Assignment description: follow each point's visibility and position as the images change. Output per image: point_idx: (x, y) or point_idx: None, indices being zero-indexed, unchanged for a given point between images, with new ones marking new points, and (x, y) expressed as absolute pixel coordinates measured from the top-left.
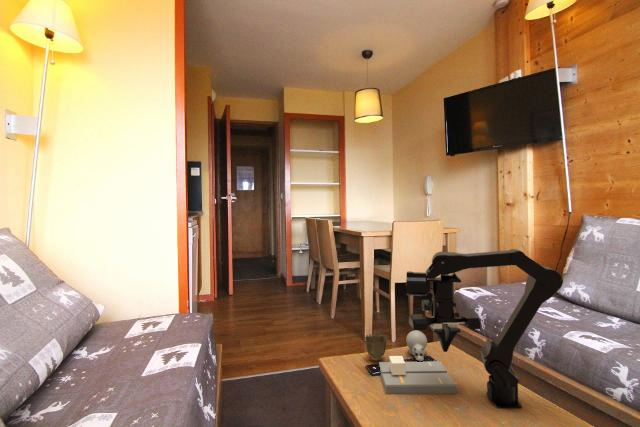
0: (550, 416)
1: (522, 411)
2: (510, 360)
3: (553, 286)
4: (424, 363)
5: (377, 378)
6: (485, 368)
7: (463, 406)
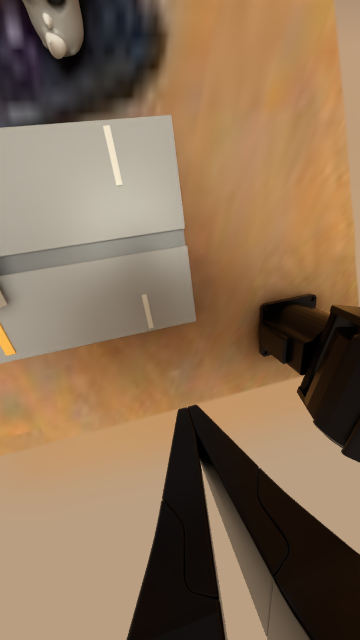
0: None
1: None
2: None
3: None
4: (86, 150)
5: None
6: (310, 411)
7: (191, 363)
